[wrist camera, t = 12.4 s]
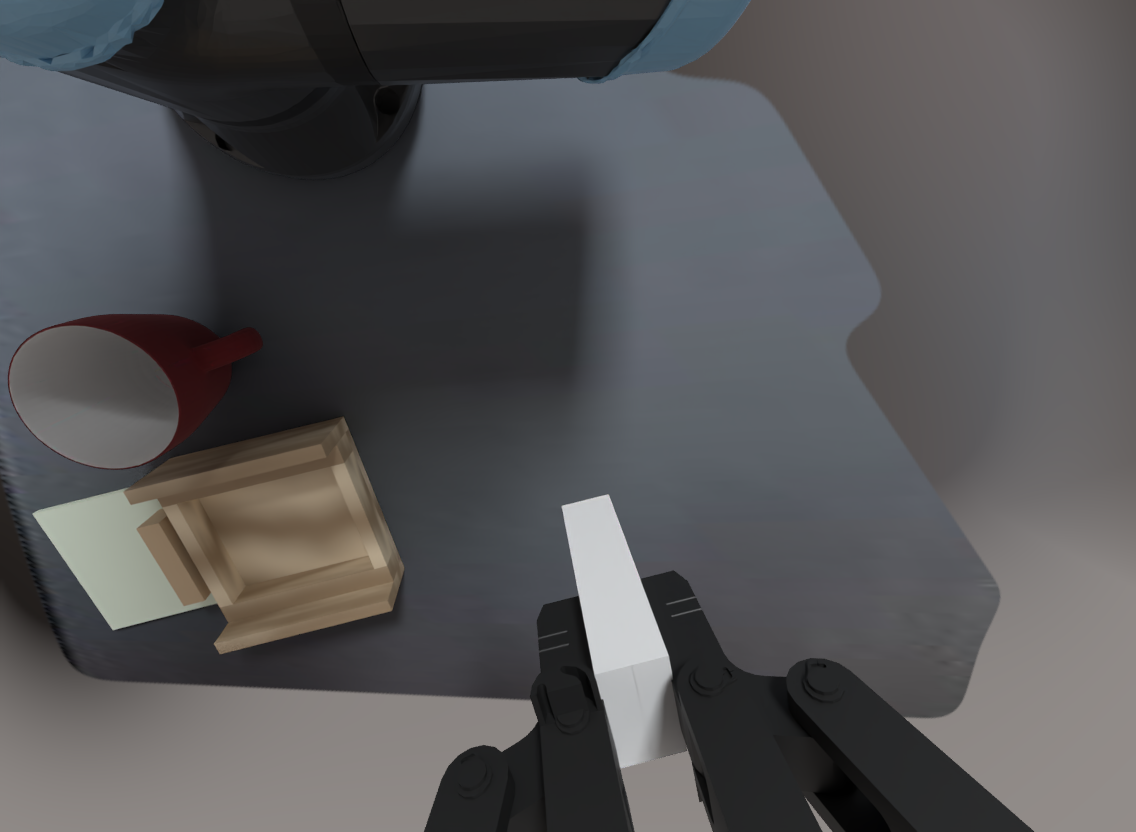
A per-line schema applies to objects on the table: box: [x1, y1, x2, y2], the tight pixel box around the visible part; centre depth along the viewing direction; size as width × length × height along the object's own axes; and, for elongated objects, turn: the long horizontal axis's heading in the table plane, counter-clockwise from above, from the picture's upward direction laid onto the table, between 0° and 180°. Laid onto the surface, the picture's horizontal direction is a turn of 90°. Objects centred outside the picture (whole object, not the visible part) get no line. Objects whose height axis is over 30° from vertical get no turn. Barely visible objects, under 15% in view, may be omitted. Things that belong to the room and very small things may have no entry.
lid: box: [33, 488, 217, 630], centre depth 40 cm, size 11×10×4 cm
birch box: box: [123, 416, 405, 654], centre depth 39 cm, size 14×13×5 cm
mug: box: [8, 314, 263, 470], centre depth 32 cm, size 10×8×10 cm
